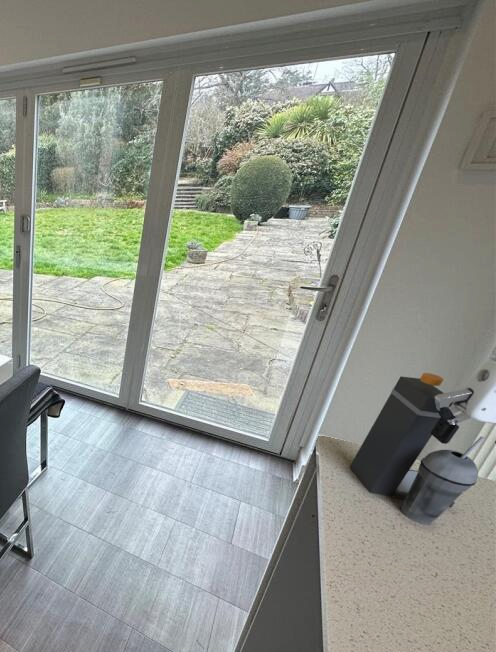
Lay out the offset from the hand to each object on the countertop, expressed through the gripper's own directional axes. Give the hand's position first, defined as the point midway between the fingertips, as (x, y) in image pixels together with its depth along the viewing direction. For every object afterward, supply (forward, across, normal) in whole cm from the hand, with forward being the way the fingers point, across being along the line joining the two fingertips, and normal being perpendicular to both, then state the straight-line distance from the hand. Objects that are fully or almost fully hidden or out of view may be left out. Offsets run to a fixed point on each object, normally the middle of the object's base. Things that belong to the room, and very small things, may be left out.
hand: (470, 443), depth 72 cm
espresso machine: (+18, +2, +9) cm, 21 cm away
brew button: (-7, -4, +9) cm, 12 cm away
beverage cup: (+19, 0, 0) cm, 19 cm away
